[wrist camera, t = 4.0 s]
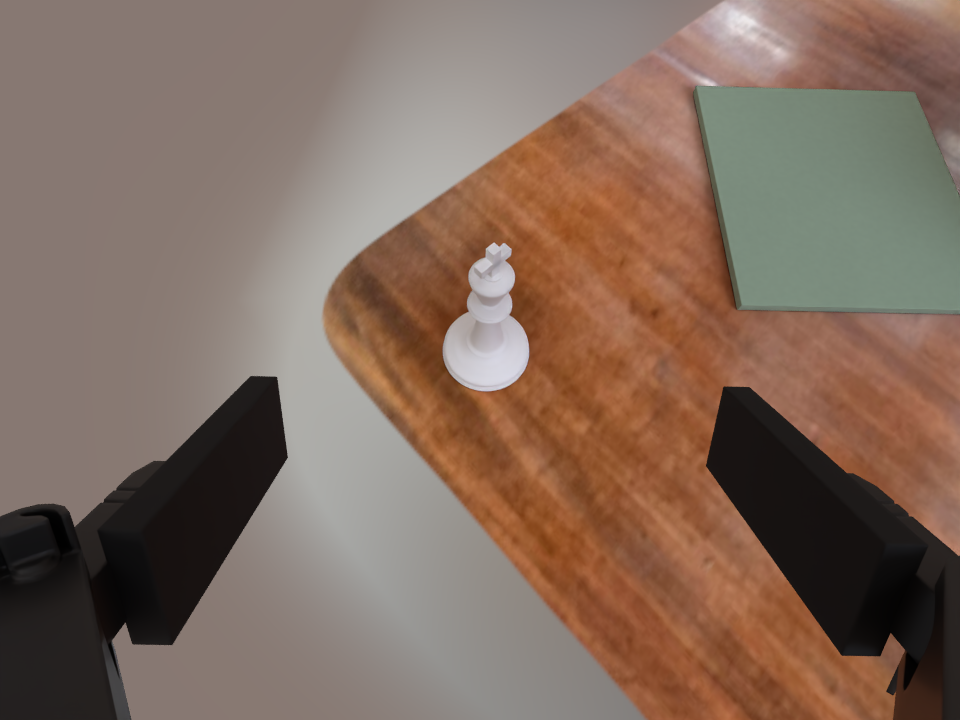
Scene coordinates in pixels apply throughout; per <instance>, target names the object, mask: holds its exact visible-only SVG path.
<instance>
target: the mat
mask: <svg viewBox="0 0 960 720" xmlns="http://www.w3.org/2000/svg"><path fill="white" fill-rule="evenodd" d="M693 95H694V100H695V105H696V109H697V114H698V119H699V124H700V129H701V134H702V139H703V144H704V149H705V154H706V159H707V164H708V169H709V174H710V179H711V183H712V188H713V193H714V198H715V203H716V208H717V213H718V218H719V223H720V228H721V233H722V238H723V243H724V248H725V253H726V257H727V262H728V267H729V272H730V277H731V282H732V287H733V292H734V297H735V302H736V307H737V310H778V311H826V312H875V313H924V314H960V196H959V193H958V191H957V189H956V187H955V184H954V182H953V180H952V177H951V175H950V173H949V170H948V168H947V166H946V163H945V161H944V159H943V156H942V154H941V152H940V149H939V147H938V145H937V142H936V140H935V138H934V135H933V133H932V131H931V129H930V126H929V124H928V122H927V119H926V117H925V115H924V112H923V110H922V108H921V105H920V103H919V101H918V98H917V96H916V94H915V92H906V91H868V90H831V89H793V88H756V87H719V86H696V87H695V90H694V92H693Z"/></svg>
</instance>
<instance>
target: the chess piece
mask: <svg viewBox="0 0 960 720" xmlns="http://www.w3.org/2000/svg"><path fill="white" fill-rule="evenodd" d="M511 250H512V249H510V248H509V247H508V246H507V245H506V244H505V243H504V244H502V245H501V246H500V247H498V246H497V245H496V244H495V243H493V244H491V245H490V246H489V247H487V248H486V258H482V259H480V260H478V261H477V262H475V263H474V264H473V266H472V267H471V269H470V271H469V276H468V278H469V284H470V286H471V288H472V290H473V291H472V292H471V293H470V295H469V297H468V300H467V307H468V311H469V312H467V313H465V314H463V315H462V316H460V317H459V318H458V319H456V320H455V321H454V322H453V324H452V325H451V326H450V328H449V329H448V331H447V333H446V336H445V340H444V344H443V359H444V362H445V365H446V367H447V369H448V371H449V373H450V374H451V375H452V376H453V377H454V378H455V379H456V380H457V381H458V382H459V383H461V384H462V385H464V386H466V387H468V388H471V389H474V390H478V391H495V390H499V389H502V388H505V387H507V386H509V385H511V384H512V383H513V382H515V381H516V380H517V379H518V378H519V377H520V376H521V375H522V373H523V372H524V370H525V368H526V366H527V363H528V359H529V344H528V339H527V336H526V333H525V331H524V329H523V328H522V326H521V325H520V324H519V323H518V322H517V321H516V320H515V319H514V318H513V317H511V316H510V315H509V314H510V312H511V309H512V300H511V297H510V295H509V292H510V290H511V289H512V287H513V285H514V282H515V274H514V271H513V269H512V267H511V266H510V265H509V264H508V263H507V262H506V261H505V260H506V259H507V258H508V257H510V256H511Z"/></svg>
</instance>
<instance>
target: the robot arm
mask: <svg viewBox="0 0 960 720" xmlns="http://www.w3.org/2000/svg"><path fill="white" fill-rule="evenodd" d="M287 458H288V456H287V449H286V441H285V434H284V426H283V418H282V411H281V403H280V395H279V388H278V380H277V377H265V376H264V377H263V376H261V377H260V376H251V377H249V378H248V379H247V381H245V382H244V383H243V384H242V385H241V386H240V388H239V389H237V391H235V392H234V394H233V395H231V396H230V398H228V399H227V400H226V401H225V402H224V403H223V405H221V406H220V408H218V410H216V411H215V412H214V413H213V415H211V416H210V417H209V418H208V419H207V420H206V421H205V423H204V424H203V425H201V427H200V428H198V429H197V430H196V432H194V434H193V435H191V436H190V438H189V439H188V440H187V441H186V442H185V443H184V444H183V445H182V446H181V447H180V448H179V449H178V450H177V451H176V452H175V453H174V454H173V455H172V456H171V457H170V458H169V459H168V460H167V461H153V462H151V463H150V464H148V465H146V466H145V467H142V468H141V469H139V470H137V471H135V472H133V473H132V474H131V475H130V476H129V477H128V478H127V479H125V480H124V481H123V482H122V483H121V484H120V485H119V486H118V487H117V490H116V491H113V492H112V493H110V494H109V495H108V496H107V497H106V498H105V499H104V502H103V503H100V504H99V505H98V506H97V507H96V508H95V509H93V511H91V512H90V513H89V514H88V515H87V516H86V517H85V518H84V519H83V520H82V521H81V522H80V523H79V524H78V525H76V527H74V525H73V521H72V518H71V515H70V512H69V511H68V510H67V509H66V508H65V506H61V505H56V504H41V505H40V504H38V505H34V506H30V507H25V508H21V509H18V510H15V511H13V512H10V513H8V514H5V515H3V516H1V517H0V720H131V716H130V712H129V707H128V703H127V699H126V695H125V690H124V686H123V682H122V677H121V673H120V669H119V664H118V660H117V656H116V652H115V649H114V646H113V643H112V640H113V638H114V637H115V636H116V634H117V633H118V632H119V630H120V629H121V628H122V626H123V625H124V623H125V622H126V625H127V628H128V632H129V635H130V638H131V641H132V644H141V645H142V644H145V645H172V644H173V643H174V641H175V640H176V638H177V636H178V635H179V633H180V631H181V630H182V628H183V626H184V625H185V623H186V622H187V620H188V619H189V617H190V615H191V614H192V612H193V610H194V609H195V607H196V605H197V604H198V602H199V601H200V599H201V597H202V596H203V594H204V593H205V591H206V589H207V588H208V586H209V584H210V583H211V581H212V580H213V578H214V576H215V575H216V573H217V571H218V570H219V568H220V566H221V565H222V563H223V562H224V560H225V558H226V557H227V555H228V554H229V552H230V550H231V549H232V547H233V545H234V544H235V542H236V541H237V539H238V537H239V536H240V534H241V533H242V531H243V529H244V528H245V526H246V524H247V523H248V521H249V520H250V518H251V516H252V515H253V513H254V511H255V510H256V508H257V506H258V505H259V503H260V502H261V500H262V498H263V497H264V495H265V493H266V492H267V490H268V489H269V487H270V485H271V484H272V482H273V481H274V479H275V477H276V476H277V474H278V472H279V471H280V469H281V468H282V466H283V464H284V463H285V461H286V460H287ZM706 467H707V468H708V469H709V471H710V472H711V474H712V475H713V476H714V478H715V479H716V481H717V482H718V483H719V485H720V486H721V488H722V489H723V490H724V492H725V493H726V495H727V496H728V497H729V499H730V500H731V502H732V503H733V504H734V506H735V507H736V509H737V510H738V511H739V513H740V514H741V516H742V517H743V518H744V520H745V521H746V522H747V524H748V525H749V527H750V528H751V529H752V531H753V532H754V534H755V535H756V536H757V538H758V539H759V541H760V542H761V543H762V545H763V546H764V548H765V549H766V550H767V552H768V553H769V555H770V556H771V557H772V559H773V560H774V562H775V563H776V564H777V566H778V567H779V569H780V570H781V571H782V573H783V574H784V576H785V577H786V578H787V580H788V581H789V583H790V584H791V585H792V587H793V588H794V590H795V591H796V592H797V594H798V595H799V597H800V598H801V599H802V601H803V602H804V604H805V605H806V606H807V608H808V609H809V611H810V612H811V613H812V615H813V616H814V618H815V619H816V620H817V622H818V623H819V624H820V626H821V627H822V629H823V630H824V631H825V633H826V634H827V636H828V637H829V638H830V640H831V641H832V643H833V644H834V645H835V647H836V648H837V650H838V651H839V652H840V654H841V655H842V656H880V655H881V653H882V651H883V649H884V646H885V644H886V642H887V639H888V637H889V635H890V633H891V634H892V635H893V636H894V637H895V638H896V640H897V641H898V642H899V643H900V644H901V645H902V647H903V648H904V649H905V652H904V654H903V656H902V658H901V661H900V663H899V665H898V667H897V669H896V671H895V674H894V676H893V678H892V680H891V682H890V684H889V687H888V689H887V691H886V692H888V693H890V694H892V695H894V693H895V692H896V697H895V706H894V716H893V720H960V556H958V555H957V554H956V553H954V552H953V551H952V550H951V549H950V548H949V547H947V546H946V545H945V544H944V543H943V542H942V541H940V540H939V539H938V538H937V537H936V536H934V535H933V534H932V533H931V532H930V531H929V530H927V529H926V528H925V527H924V526H923V525H922V524H920V523H919V522H918V521H917V520H916V519H914V518H913V517H909V515H908V514H909V513H907V512H906V511H905V510H904V509H903V508H902V507H900V506H899V505H898V504H894V501H893V500H892V499H891V498H890V497H889V496H887V495H886V494H885V493H884V492H883V491H882V490H880V489H879V488H878V487H877V486H875V485H873V484H871V483H870V482H868V481H866V480H864V479H862V478H861V477H859V476H857V475H855V474H853V473H846V472H845V471H844V470H843V469H842V468H840V467H839V466H838V465H837V464H836V463H835V462H834V461H832V460H831V459H830V458H829V457H828V456H827V455H826V454H825V453H823V452H822V451H821V450H820V449H819V448H818V447H817V446H815V445H814V444H813V443H812V442H811V441H810V440H809V439H808V438H806V437H805V436H804V435H803V434H802V433H801V432H800V431H798V430H797V429H796V428H795V427H794V426H793V425H792V424H791V423H789V422H788V421H787V420H786V419H785V418H784V417H783V416H782V415H780V414H779V413H778V412H777V411H776V410H775V409H774V408H772V407H771V406H770V405H769V404H768V403H767V402H766V401H765V400H763V399H762V398H761V397H760V396H759V395H758V394H757V393H755V392H754V391H753V390H752V389H751V388H750V387H723V391H722V396H721V401H720V405H719V410H718V414H717V419H716V423H715V428H714V432H713V437H712V441H711V446H710V450H709V455H708V459H707V464H706Z"/></svg>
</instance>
